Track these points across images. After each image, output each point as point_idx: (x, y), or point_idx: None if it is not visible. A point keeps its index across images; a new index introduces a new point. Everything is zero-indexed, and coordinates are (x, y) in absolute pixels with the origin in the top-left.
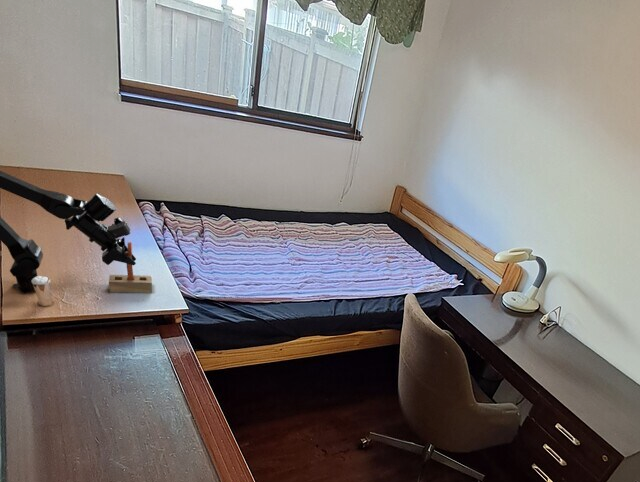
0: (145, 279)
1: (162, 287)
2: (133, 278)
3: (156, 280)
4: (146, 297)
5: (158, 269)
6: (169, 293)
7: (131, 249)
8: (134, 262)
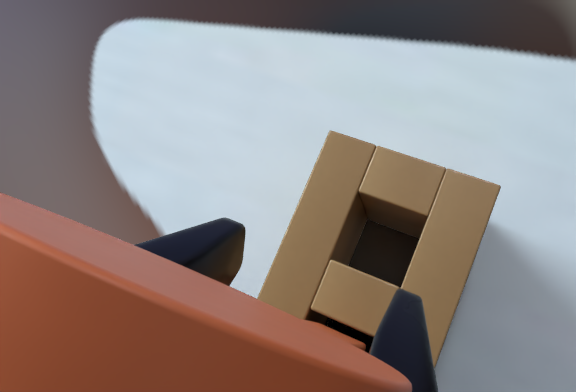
0: (357, 208)
1: (410, 102)
2: (324, 325)
3: (271, 106)
4: (565, 301)
5: (108, 36)
6: (545, 84)
7: (263, 313)
8: (425, 322)
